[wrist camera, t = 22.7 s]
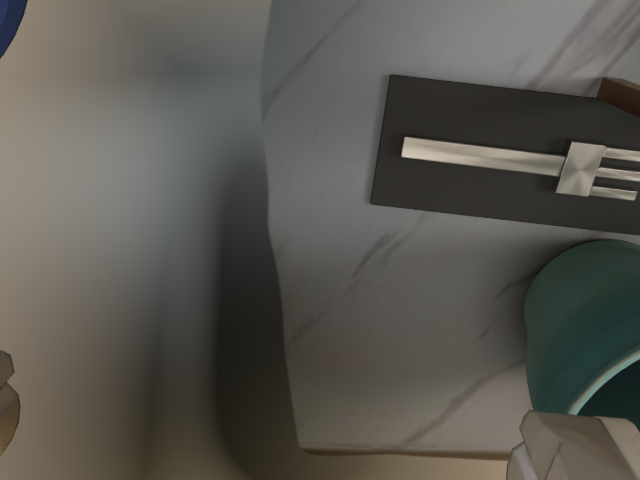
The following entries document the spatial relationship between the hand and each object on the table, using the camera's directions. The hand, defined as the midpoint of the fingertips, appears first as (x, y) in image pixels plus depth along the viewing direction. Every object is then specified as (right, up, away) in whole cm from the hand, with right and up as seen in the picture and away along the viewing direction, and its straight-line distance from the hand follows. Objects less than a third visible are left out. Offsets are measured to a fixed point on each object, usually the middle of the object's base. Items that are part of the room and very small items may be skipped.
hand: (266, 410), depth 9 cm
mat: (+16, +9, +33) cm, 38 cm away
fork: (+16, +9, +32) cm, 37 cm away
